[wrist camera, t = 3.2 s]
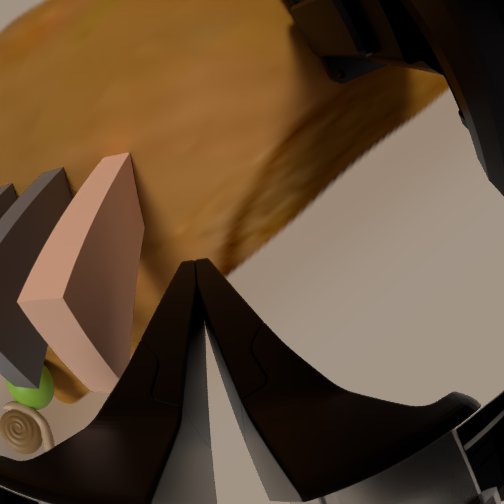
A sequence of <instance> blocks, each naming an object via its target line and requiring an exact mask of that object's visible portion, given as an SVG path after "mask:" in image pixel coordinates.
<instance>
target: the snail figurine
mask: <svg viewBox="0 0 504 504" xmlns="http://www.w3.org/2000/svg"><path fill="white" fill-rule="evenodd" d="M6 383H7V387H8V389H9V392H10V394H11V395H12V397H13V398H14V399H15V401H16V402H15V401H12V402H9V403H7V404H5V405H4V406H3V409H4V410H7V411H8V412H6V413H5V414H4V415H3V416H2V418H1V420H0V432H1V435H2V437H3V439H4V440H5V442H6V443H7V445H8V446H9V447H10V448H12V449H13V450H15V451H16V452H19V453H22V454H30V453H33V452H35V451H37V450H38V449H39V447H40V446H41V444H42V440H43V443H44V448H45V452H46V451H48V450H50V449H52V448H53V447H55V445H54V440H53V435H52V432H51V429H50V426H49V424H48V422H47V420H46V419H45V418H44V417H43V416H42V415H41V414H40V413H39V412H38V411H36V410H39V409H42V408H44V407H46V406H47V405H48V404H49V403H50V402H51V400H52V398H53V395H54V382H53V378H52V376H51V373H50V372H49V370H48V369H47V367H46V366H45V365H44V364H43V369H42V374H41V380H40V385H39V389H32V388H23V387H15V386H13V385H12V384H11V383H10V382H9V381H8V380H7V379H6Z"/></svg>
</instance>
